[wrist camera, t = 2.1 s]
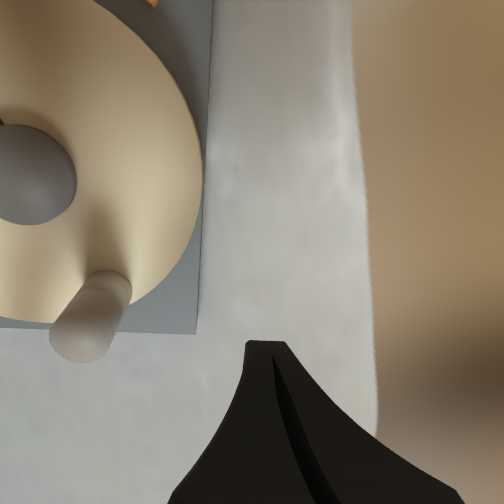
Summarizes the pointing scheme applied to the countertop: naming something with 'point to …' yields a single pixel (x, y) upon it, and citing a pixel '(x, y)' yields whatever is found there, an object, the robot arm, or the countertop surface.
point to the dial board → (196, 94)
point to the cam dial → (88, 171)
